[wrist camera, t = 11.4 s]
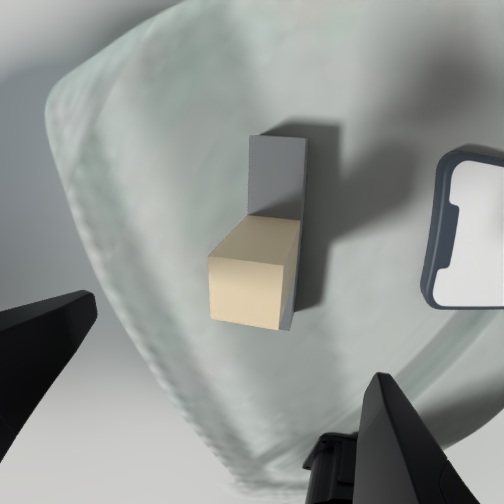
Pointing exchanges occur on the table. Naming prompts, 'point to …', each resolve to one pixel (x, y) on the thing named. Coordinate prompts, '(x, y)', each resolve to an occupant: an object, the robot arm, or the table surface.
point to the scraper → (263, 239)
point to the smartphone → (466, 235)
